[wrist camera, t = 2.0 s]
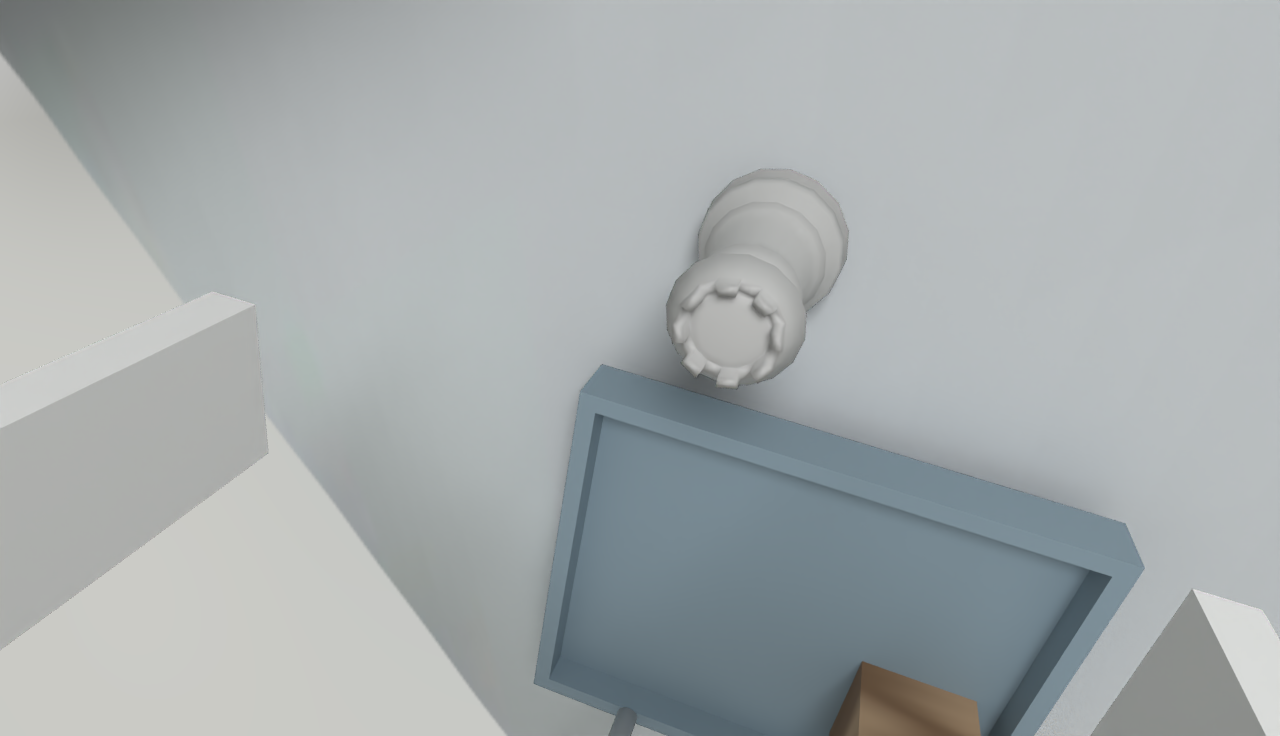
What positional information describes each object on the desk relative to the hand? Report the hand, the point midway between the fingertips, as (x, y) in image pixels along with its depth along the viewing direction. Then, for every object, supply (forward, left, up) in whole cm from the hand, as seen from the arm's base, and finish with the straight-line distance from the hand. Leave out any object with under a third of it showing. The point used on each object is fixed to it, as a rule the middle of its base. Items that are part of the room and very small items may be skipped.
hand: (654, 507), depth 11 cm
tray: (+4, -13, -15) cm, 20 cm away
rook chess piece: (0, 0, -15) cm, 15 cm away
